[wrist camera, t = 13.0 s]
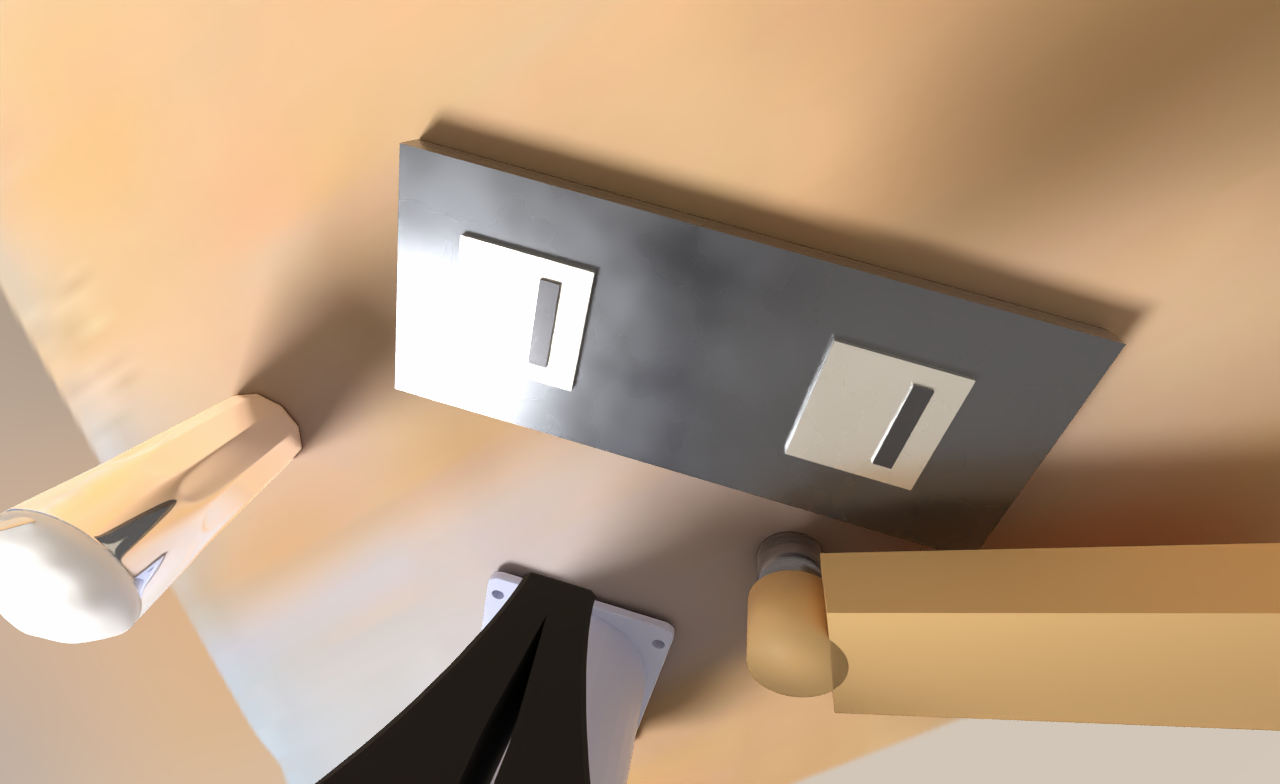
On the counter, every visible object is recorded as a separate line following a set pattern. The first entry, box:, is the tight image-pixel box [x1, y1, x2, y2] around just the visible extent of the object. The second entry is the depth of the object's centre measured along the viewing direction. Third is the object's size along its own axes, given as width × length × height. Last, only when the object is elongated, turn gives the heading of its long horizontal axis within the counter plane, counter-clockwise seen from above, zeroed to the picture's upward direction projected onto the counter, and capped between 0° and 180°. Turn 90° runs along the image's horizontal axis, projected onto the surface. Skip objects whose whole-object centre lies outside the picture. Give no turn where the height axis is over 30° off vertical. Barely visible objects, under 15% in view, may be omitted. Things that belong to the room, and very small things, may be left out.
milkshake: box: [0, 394, 302, 644], centre depth 19 cm, size 5×5×10 cm
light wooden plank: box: [746, 543, 1280, 731], centre depth 18 cm, size 16×4×2 cm, turn 101°
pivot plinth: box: [757, 532, 823, 581], centre depth 21 cm, size 2×2×2 cm
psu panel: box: [395, 139, 1126, 551], centre depth 18 cm, size 8×20×1 cm, turn 77°
